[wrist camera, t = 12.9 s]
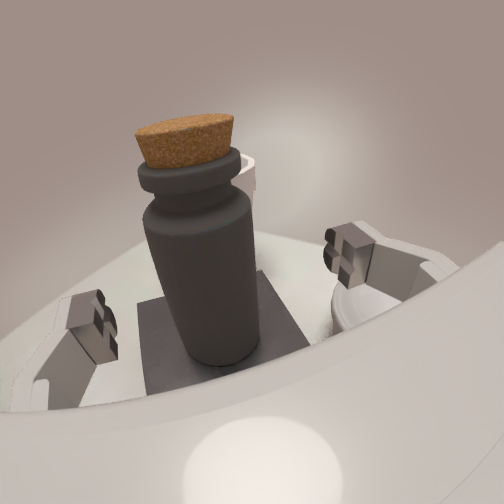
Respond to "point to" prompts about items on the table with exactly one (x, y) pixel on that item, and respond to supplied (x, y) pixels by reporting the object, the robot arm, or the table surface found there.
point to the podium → (193, 372)
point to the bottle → (201, 235)
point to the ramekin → (357, 305)
